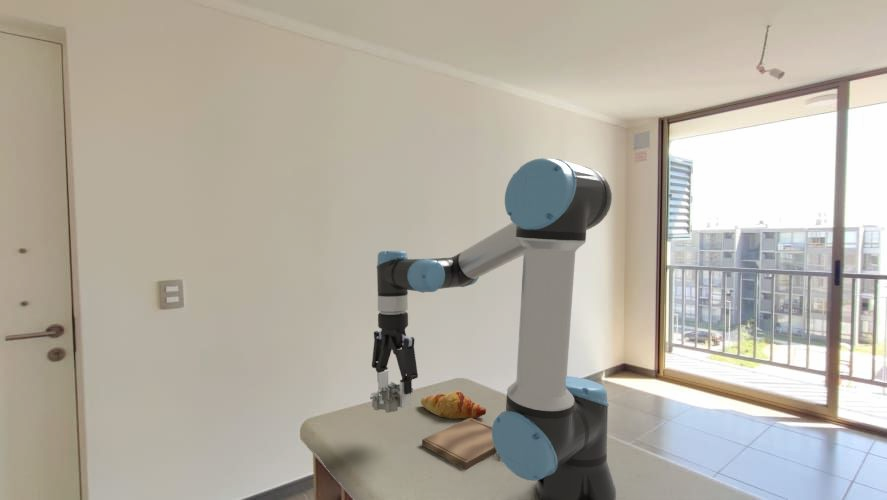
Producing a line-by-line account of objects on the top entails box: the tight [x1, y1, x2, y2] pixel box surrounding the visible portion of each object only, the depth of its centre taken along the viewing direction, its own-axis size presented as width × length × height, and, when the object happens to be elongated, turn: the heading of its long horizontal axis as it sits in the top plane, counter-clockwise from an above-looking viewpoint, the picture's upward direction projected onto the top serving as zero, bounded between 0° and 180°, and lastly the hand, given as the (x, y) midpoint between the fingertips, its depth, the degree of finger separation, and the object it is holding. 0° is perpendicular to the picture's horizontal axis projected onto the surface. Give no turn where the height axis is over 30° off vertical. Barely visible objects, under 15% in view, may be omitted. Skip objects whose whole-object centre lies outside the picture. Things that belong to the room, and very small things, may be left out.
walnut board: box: [421, 418, 497, 470], centre depth 104 cm, size 15×18×2 cm
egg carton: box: [369, 381, 414, 413], centre depth 104 cm, size 11×8×4 cm
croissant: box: [420, 390, 487, 420], centre depth 123 cm, size 21×10×8 cm, turn 65°
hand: (394, 401), depth 104 cm, fingers closed on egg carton, 8 cm apart
